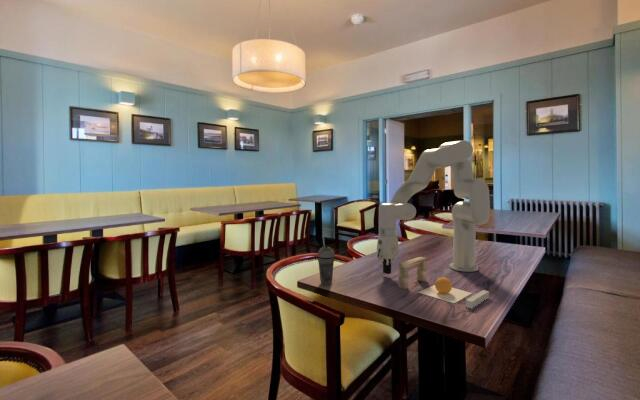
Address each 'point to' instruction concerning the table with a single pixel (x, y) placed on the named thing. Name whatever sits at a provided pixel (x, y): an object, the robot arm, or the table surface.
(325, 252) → the beverage cup
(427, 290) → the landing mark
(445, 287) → the ball
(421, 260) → the bridge
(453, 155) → the robot arm
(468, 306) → the wall
